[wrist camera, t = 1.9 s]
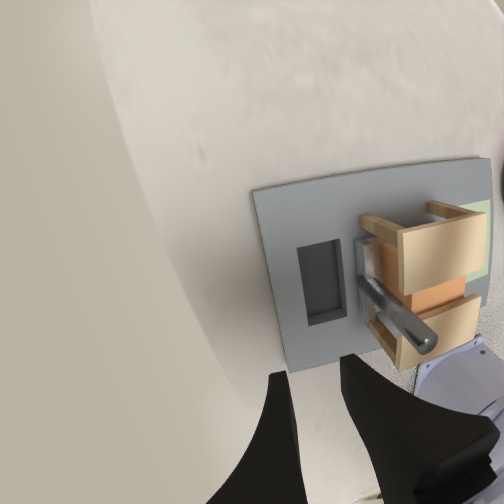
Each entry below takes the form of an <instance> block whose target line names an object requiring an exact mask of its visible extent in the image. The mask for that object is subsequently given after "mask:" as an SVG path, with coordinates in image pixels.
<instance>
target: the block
mask: <svg viewBox="0 0 504 504" xmlns="http://www.w3.org/2000/svg"><path fill="white" fill-rule="evenodd" d="M381 246H382V262H383V285H384V286H385V287H386V288H388V289H389V290H390V291H391V292H392V293H393V294H394V295H395V296H396V297H398V298H399V299H400V300H401V301H402V302H403V303H404V304H405V305H406V306H407V307H408V308H410V309H411V310H412V311H413V312H414V313H415V314H416V315H417V316H418V315H421V314H424V313H427V312H429V311H432V310H435V309H437V308H440V307H442V306H445V305H447V304H450V303H452V302H455V301H457V300H460V299H462V298H464V292H465V282H466V275H464V276H461V277H458V278H456V279H453V280H450V281H447V282H445V283H442V284H439V285H436V286H433V287H430V288H428V289H425V290H422V291H419V292H416V293H413V294H409V295H406V296H403V295H402V294H401V293H400V292H399V263H398V248H397V247H396V246H394V245H392V244H390V243H389V242H388V243H384V244H381Z"/></svg>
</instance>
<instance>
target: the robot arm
mask: <svg viewBox="0 0 504 504" xmlns="http://www.w3.org/2000/svg"><path fill="white" fill-rule="evenodd" d="M483 340H484V336H483V335H479V336H477V337H476V338H474V339H472V340H470V341H468V342H466V343H464V344H462V345H460V346H458V347H456V348H454V349H452V350H450V351H448V352H445V353H443V354H441V355H439V356H437V357H434V358H432V359H430V360H427V361H425V362H423V363H421V364H420V365H419V367H418V373H417V379H416V384H415V390H414V395H412V394H410V393H409V392H407V391H405V390H403V389H402V388H400V387H398V386H397V385H395V384H394V383H392V382H391V381H389V380H388V379H386V378H385V377H383V376H382V375H381V374H379V373H378V372H377V371H375V370H374V369H373V368H371V367H370V366H369V365H368V364H366V363H365V362H364V361H363V360H362V359H360V358H359V357H358V356H357V355H356V354H354V353H352V354H349V355H345V356H342V357H340V374H341V392H342V395H343V398H344V401H345V404H346V406H347V409H348V412H349V414H350V416H351V418H352V420H353V422H354V424H355V426H356V428H357V430H358V432H359V434H360V436H361V438H362V440H363V442H364V444H365V446H366V448H367V451H368V453H369V456H370V458H371V461H372V464H373V467H374V470H375V473H376V477H377V480H378V483H379V487H380V490H381V494H382V497H383V501H384V504H504V361H503V360H502V359H501V358H499V357H498V356H497V355H496V354H495V353H494V352H493V351H492V350H491V349H489V348H488V347H487V346H486V345H485V344H484V343H483ZM206 504H308V502H307V497H306V492H305V487H304V482H303V477H302V472H301V464H300V454H299V444H298V434H297V424H296V419H295V413H294V408H293V403H292V398H291V393H290V388H289V382H288V378H287V374H286V370H285V371H281V372H276V373H271V374H270V375H269V382H268V390H267V395H266V400H265V404H264V407H263V411H262V414H261V417H260V420H259V423H258V425H257V428H256V431H255V433H254V435H253V438H252V440H251V442H250V444H249V446H248V448H247V450H246V451H245V453H244V455H243V457H242V459H241V460H240V462H239V463H238V465H237V467H236V468H235V469H234V471H233V472H232V474H231V475H230V476H229V478H228V479H227V480H226V482H225V483H224V484H223V485H222V486H221V488H220V489H219V490H218V491H217V492H216V493H215V494H214V495H213V496H212V497H211V499H209V501H208V502H207V503H206Z"/></svg>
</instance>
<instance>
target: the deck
mask: <svg viewBox="0 0 504 504" xmlns="http://www.w3.org/2000/svg"><path fill="white" fill-rule="evenodd" d="M252 194H253V199H254V204H255V208H256V213H257V218H258V223H259V228H260V232H261V237H262V242H263V247H264V252H265V257H266V261H267V266H268V271H269V276H270V281H271V286H272V291H273V296H274V301H275V306H276V311H277V316H278V321H279V326H280V331H281V336H282V341H283V347H284V352H285V357H286V362H287V366H288V370H289V373H292V372H297V371H301V370H305V369H309V368H313V367H317V366H321V365H325V364H329V363H333V362H336V361H340V357H342V356H345V355H349V354H352V353H354V354H356V355H360V354H364V353H367V352H370V351H373V350H376V349H379V348H382V346H381V345H380V344H379V342H378V341H377V339H376V338H375V337H374V335H373V334H372V333H371V331H370V330H369V329H368V327H367V326H366V320H365V319H364V318H363V316H362V315H361V314H360V302H359V286H358V285H357V278H358V272H357V260H356V250H355V239H359V238H364V237H368V236H373V235H374V234H372V233H371V232H369V231H367V230H365V229H363V228H361V227H360V225H359V216H358V215H361V214H366V213H371V214H373V215H376V216H378V217H381V218H383V219H385V220H388V221H390V222H393V223H395V224H397V225H400V226H402V227H404V228H408V227H412V226H417V225H421V224H425V223H430V222H434V221H441V220H446V219H445V218H442V217H439V216H436V215H433V214H430V213H427V211H426V202H427V201H433V200H435V201H439V202H443V203H447V204H450V205H454V206H458V207H462V208H465V209H469V210H472V211H476V212H479V211H481V212H485V213H487V241H486V259H485V267H484V268H482V269H479V270H477V271H474V272H472V273H469V274H466V282H465V292H464V297H467V296H469V295H471V294H474V293H478V294H479V295H481V296H482V297H481V303H480V308H481V307H483V306H485V305H486V302H487V296H488V288H489V281H490V271H491V261H492V246H493V186H492V172H491V161H490V158H468V159H456V160H445V161H435V162H426V163H417V164H409V165H401V166H393V167H385V168H378V169H371V170H364V171H357V172H351V173H345V174H338V175H332V176H326V177H321V178H315V179H309V180H304V181H298V182H293V183H288V184H282V185H277V186H272V187H267V188H262V189H258V190H253V191H252ZM375 314H376V315H377V317H378V318H379V319H380V320H381V321H382V322H383V324H384V325H385V326H386V327H387V328H388V330H389V331H390V332H391V333H392V334H393V336H394V337H395V338H396V339H397V336H398V329H397V328H396V327H395V326H394V325H393V323H392V322H391V321H390V320H389V319H388V318H387V317H386V316H385V315H384V313H383V312H382V311H379V312H375Z"/></svg>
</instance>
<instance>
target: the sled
mask: <svg viewBox="0 0 504 504" xmlns="http://www.w3.org/2000/svg"><path fill="white" fill-rule="evenodd" d="M434 222H437V221H434ZM430 223H433V222H430ZM425 224H429V223H425ZM421 225H424V224H421ZM417 226H420V225H417ZM412 227H416V226H412ZM408 228H411V227H408ZM384 243H388V242H387V241H385V240H383V239H381V238H380V237H378V236H376V235H373V236H368V237H364V238H359V239H355V250H356V260H357V272H358V278H357V285H358V286H359V302H360V314H361V315H362V316H363V318H364V319H365V320H366V321H367V323H369V322H373V321H375V312H379V311H382V312H383V313H384V315H385V316H386V317H387V318H388V319H389V320H390V321H391V322H392V323H393V325H394V326H395V327H396V328H397V329H398V330H399V331H400V332H401V334H402V335H403V336H404V337H405V338H406V339H407V340H408V342H409V343H410V344H411V345H412V346H413V347H414V348H415V350H416V351H417V352H418V353H419V354H420V355H426V354H428V353H430V352H431V351H432V350H433V349H434V348H435V346H436V345H437V342H438V335H437V334H436V333H435V332H434V331H433V330H432V329H431V328H430V327H429V326H428V325H427V324H425V323H424V322H423V321H422V320H421V319H420V318H419V317H418V316H417V315H416V314H415V313H414V312H413V311H412V310H411V309H410V308H408V307H407V306H406V305H405V304H404V303H403V302H402V301H401V300H400V299H399V298H398V297H396V296H395V295H394V294H393V293H392V292H391V291H390V290H389V289H388V288H386V287H385V286H384V285H383V262H382V246H381V244H384Z"/></svg>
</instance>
